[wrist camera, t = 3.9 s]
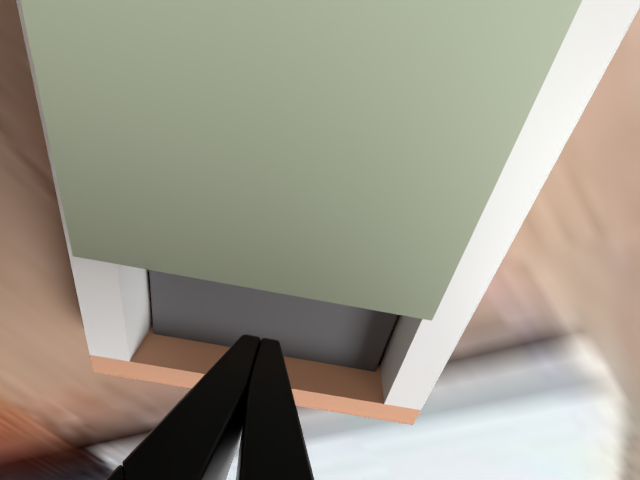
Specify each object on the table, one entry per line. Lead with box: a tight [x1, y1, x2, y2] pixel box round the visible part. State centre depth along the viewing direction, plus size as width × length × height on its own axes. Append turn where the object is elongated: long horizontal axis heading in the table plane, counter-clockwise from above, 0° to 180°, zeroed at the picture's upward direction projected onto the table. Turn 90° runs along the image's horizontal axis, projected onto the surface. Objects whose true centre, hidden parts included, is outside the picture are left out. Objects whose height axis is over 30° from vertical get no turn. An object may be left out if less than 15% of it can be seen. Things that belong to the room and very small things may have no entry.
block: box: [20, 0, 582, 321], centre depth 6 cm, size 5×5×5 cm
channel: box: [16, 0, 640, 410], centre depth 7 cm, size 10×18×2 cm, turn 170°
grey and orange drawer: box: [90, 270, 421, 425], centre depth 11 cm, size 10×6×2 cm, turn 80°
